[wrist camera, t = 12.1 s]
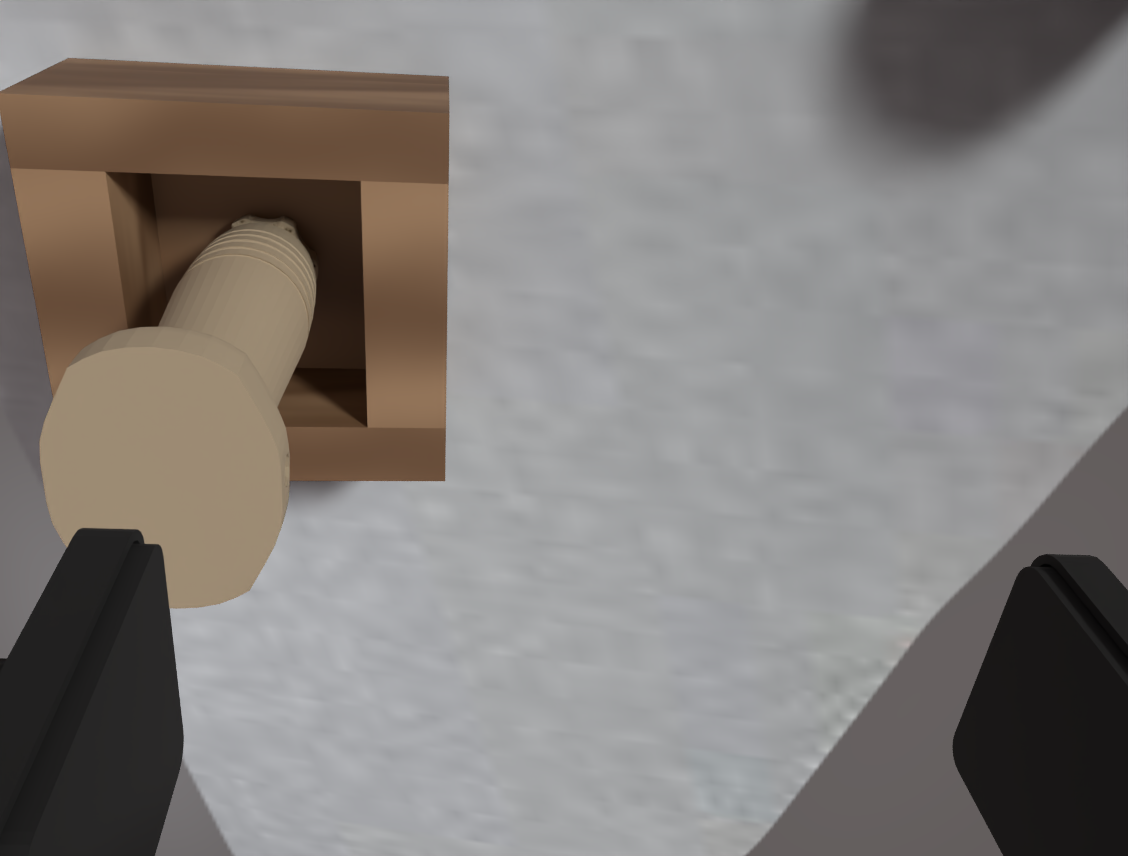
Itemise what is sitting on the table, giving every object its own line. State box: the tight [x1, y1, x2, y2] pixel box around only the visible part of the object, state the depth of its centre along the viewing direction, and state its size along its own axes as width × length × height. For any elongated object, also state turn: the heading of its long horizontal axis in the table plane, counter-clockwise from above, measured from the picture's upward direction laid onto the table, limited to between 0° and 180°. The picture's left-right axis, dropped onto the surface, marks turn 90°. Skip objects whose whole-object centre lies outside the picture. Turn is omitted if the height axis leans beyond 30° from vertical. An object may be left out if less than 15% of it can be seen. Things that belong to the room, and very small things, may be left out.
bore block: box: [0, 58, 449, 481], centre depth 34 cm, size 12×12×6 cm
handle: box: [39, 214, 319, 608], centre depth 28 cm, size 5×6×15 cm
